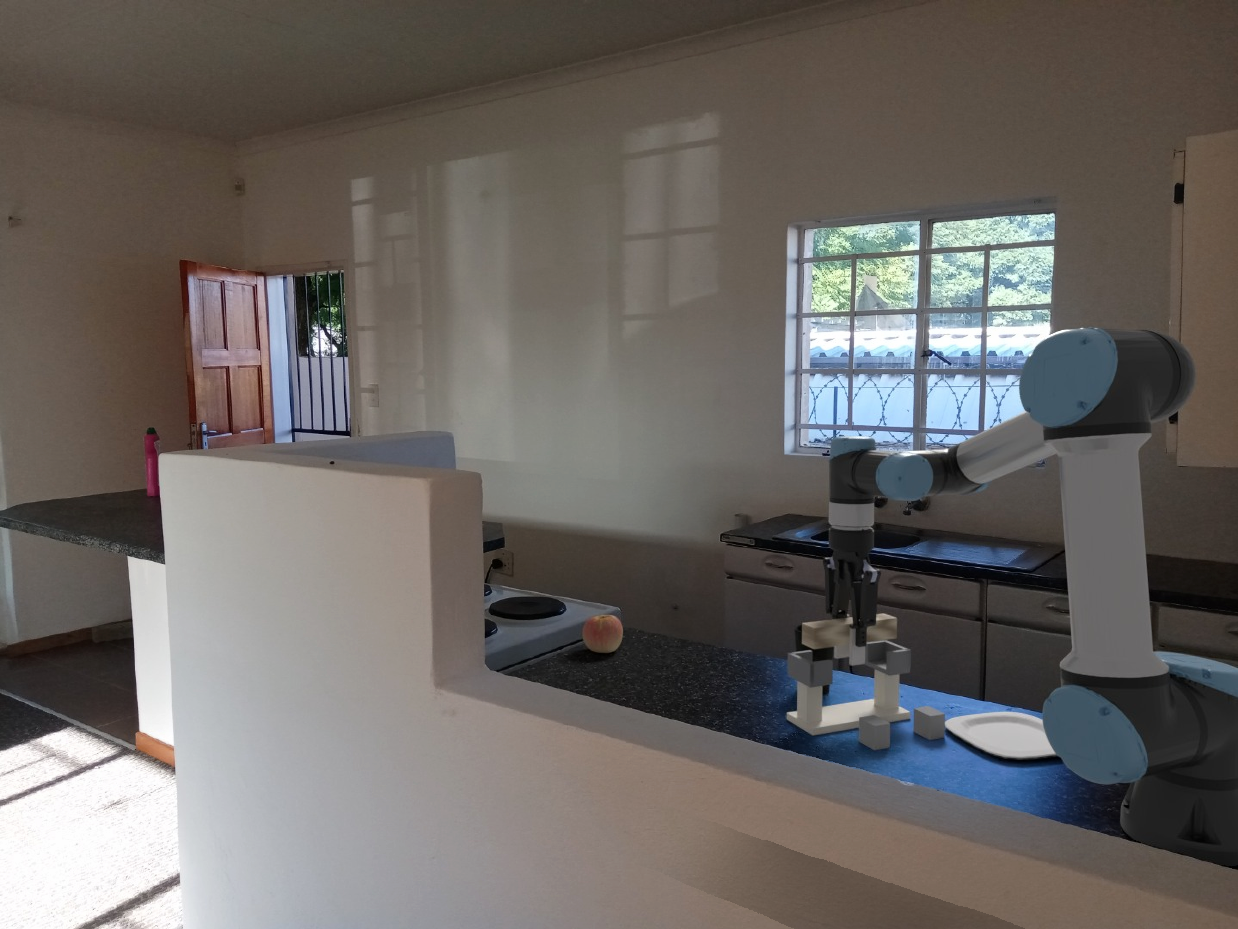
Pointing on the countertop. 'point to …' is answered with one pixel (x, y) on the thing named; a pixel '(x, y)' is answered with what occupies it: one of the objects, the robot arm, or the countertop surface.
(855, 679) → the countertop surface
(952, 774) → the countertop surface
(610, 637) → the apple
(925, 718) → the rests
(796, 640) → the cup
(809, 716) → the bracket stand
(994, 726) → the plate
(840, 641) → the rail
